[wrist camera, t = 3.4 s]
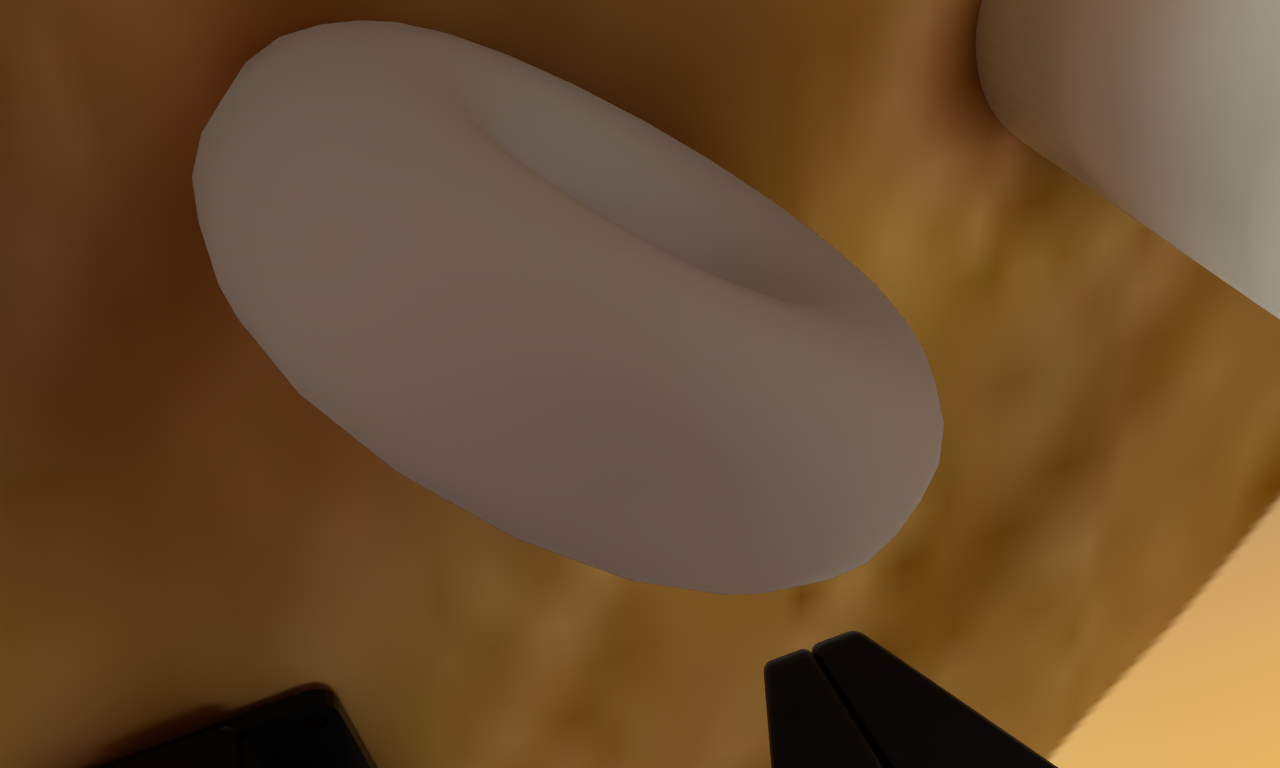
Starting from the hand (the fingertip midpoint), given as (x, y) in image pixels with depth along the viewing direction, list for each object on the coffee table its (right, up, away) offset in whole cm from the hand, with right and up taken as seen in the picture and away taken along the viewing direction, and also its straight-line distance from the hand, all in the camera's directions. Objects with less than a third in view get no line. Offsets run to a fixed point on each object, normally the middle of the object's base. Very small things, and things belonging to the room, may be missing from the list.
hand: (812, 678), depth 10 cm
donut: (-4, +6, +10) cm, 12 cm away
